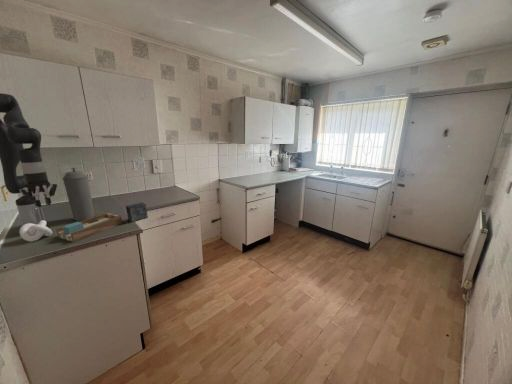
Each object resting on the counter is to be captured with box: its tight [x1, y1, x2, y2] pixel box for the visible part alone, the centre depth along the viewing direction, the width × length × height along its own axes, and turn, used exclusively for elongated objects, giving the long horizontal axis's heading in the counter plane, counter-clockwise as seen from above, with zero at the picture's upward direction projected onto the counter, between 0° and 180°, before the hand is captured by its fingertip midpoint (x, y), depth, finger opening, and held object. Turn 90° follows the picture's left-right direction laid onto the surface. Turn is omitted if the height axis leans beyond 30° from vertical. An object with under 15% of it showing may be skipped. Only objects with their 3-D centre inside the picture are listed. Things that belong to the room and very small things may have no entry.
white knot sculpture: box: [18, 219, 53, 242], centre depth 113 cm, size 11×12×9 cm
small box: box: [125, 202, 149, 223], centre depth 140 cm, size 11×6×10 cm, turn 141°
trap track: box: [55, 212, 123, 243], centre depth 124 cm, size 14×27×5 cm, turn 158°
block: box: [62, 221, 84, 235], centre depth 115 cm, size 5×7×4 cm
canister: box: [62, 167, 95, 222], centre depth 137 cm, size 13×13×35 cm
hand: (44, 205), depth 103 cm, fingers open, 3 cm apart
